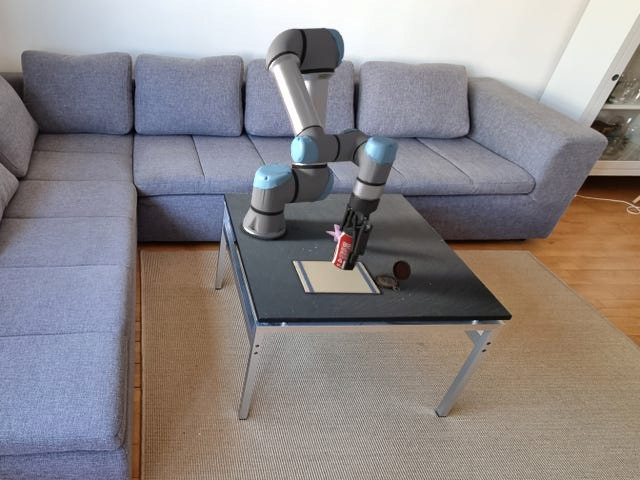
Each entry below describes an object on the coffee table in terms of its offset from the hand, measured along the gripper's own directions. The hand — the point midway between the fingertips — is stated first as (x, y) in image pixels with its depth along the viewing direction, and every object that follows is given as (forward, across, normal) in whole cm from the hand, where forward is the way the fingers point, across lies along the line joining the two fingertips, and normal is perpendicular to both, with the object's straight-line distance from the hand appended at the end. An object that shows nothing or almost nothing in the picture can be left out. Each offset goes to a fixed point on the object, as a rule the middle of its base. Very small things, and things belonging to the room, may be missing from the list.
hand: (344, 262), depth 135 cm
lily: (+5, +14, -5) cm, 16 cm away
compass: (+5, -4, -14) cm, 16 cm away
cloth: (+5, -1, +2) cm, 5 cm away
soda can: (+1, 0, 0) cm, 1 cm away
